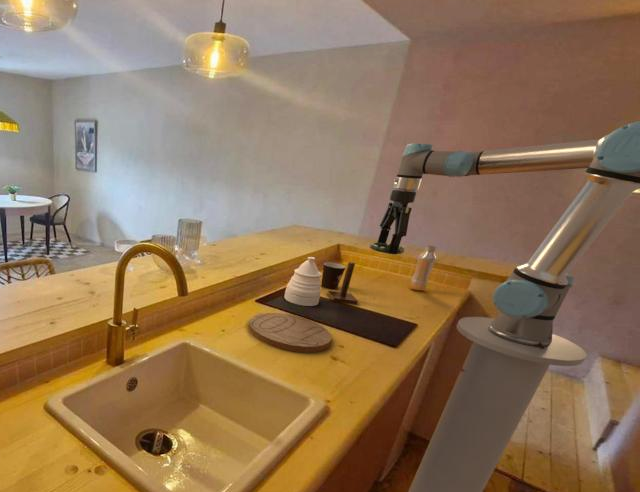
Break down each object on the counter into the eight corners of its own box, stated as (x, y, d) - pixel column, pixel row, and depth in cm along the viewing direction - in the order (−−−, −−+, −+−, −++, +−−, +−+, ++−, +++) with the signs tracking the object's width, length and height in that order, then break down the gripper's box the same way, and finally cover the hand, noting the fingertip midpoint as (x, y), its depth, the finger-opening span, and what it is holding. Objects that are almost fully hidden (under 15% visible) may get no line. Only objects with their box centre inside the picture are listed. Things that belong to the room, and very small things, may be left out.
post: (357, 304, 155) (367, 267, 149) (332, 301, 157) (342, 264, 151) (350, 296, 163) (360, 261, 157) (327, 294, 165) (336, 258, 159)
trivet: (341, 336, 127) (343, 330, 126) (310, 361, 111) (312, 355, 110) (270, 311, 143) (271, 307, 143) (234, 330, 127) (234, 325, 126)
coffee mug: (327, 290, 169) (332, 268, 166) (314, 283, 177) (319, 262, 173) (350, 289, 172) (356, 268, 168) (336, 283, 179) (342, 262, 176)
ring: (408, 256, 141) (410, 250, 141) (375, 252, 144) (376, 247, 143) (396, 248, 151) (398, 243, 151) (365, 245, 153) (367, 240, 153)
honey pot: (319, 308, 149) (331, 263, 142) (284, 302, 153) (293, 258, 146) (317, 297, 160) (327, 254, 154) (284, 292, 164) (293, 250, 158)
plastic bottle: (426, 290, 177) (441, 246, 169) (423, 293, 172) (439, 249, 164) (409, 286, 181) (423, 244, 173) (406, 289, 176) (421, 246, 168)
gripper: (381, 186, 150) (365, 242, 159) (406, 192, 129) (386, 256, 138) (403, 187, 149) (385, 244, 157) (432, 194, 128) (409, 259, 136)
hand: (385, 250), depth 147 cm, fingers closed on ring, 11 cm apart
